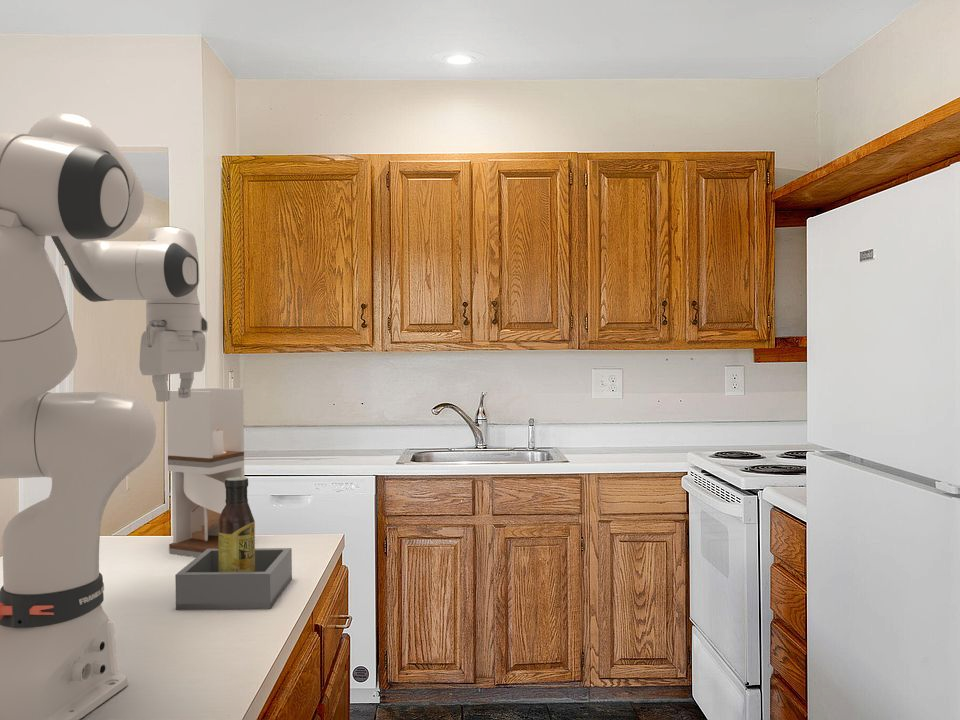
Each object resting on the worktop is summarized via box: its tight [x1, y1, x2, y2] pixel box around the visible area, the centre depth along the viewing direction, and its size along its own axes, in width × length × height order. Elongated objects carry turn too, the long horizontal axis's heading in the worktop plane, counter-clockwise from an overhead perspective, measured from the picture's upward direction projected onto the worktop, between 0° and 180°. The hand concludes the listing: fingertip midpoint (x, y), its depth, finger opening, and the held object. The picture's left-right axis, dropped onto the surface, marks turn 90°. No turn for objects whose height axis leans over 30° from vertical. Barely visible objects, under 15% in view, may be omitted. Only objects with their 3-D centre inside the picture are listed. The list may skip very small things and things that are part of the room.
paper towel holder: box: [166, 387, 245, 558], centre depth 167 cm, size 11×11×35 cm
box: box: [174, 547, 293, 611], centre depth 139 cm, size 16×16×6 cm
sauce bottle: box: [219, 476, 256, 572], centre depth 138 cm, size 7×6×20 cm
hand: (174, 399), depth 136 cm, fingers open, 8 cm apart
